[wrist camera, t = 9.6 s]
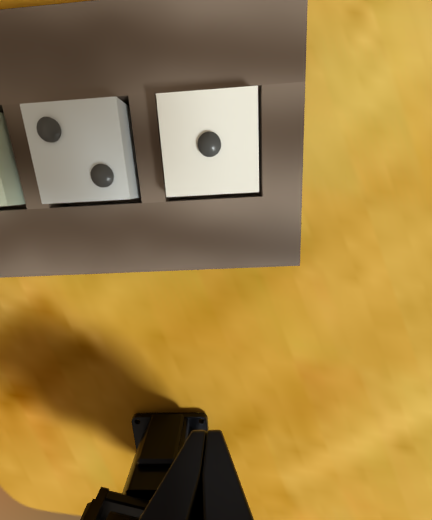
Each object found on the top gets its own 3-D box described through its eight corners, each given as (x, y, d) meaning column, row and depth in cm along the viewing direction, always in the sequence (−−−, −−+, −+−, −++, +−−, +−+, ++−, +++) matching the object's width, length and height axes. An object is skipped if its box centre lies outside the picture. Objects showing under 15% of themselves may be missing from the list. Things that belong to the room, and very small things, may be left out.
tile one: (254, 190, 17) (259, 192, 14) (176, 194, 18) (165, 197, 15) (252, 102, 16) (258, 84, 13) (168, 108, 16) (154, 92, 13)
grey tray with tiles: (289, 253, 20) (299, 265, 17) (-31, 266, 21) (-72, 280, 18) (293, 16, 16) (307, -21, 13) (-98, 52, 17) (-164, 25, 14)
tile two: (146, 196, 18) (129, 199, 15) (71, 200, 18) (40, 204, 15) (135, 111, 16) (114, 95, 13) (55, 117, 17) (17, 102, 14)
